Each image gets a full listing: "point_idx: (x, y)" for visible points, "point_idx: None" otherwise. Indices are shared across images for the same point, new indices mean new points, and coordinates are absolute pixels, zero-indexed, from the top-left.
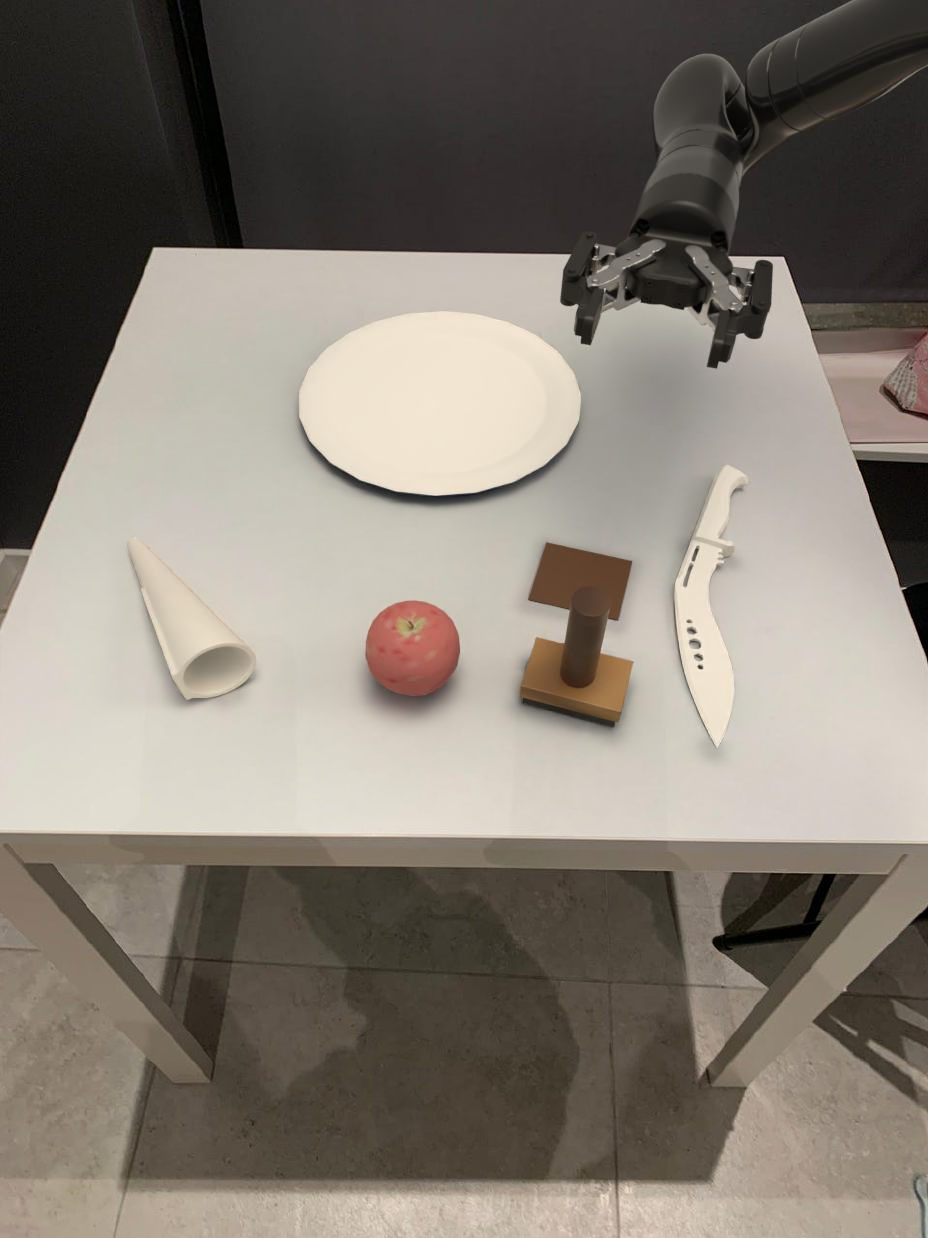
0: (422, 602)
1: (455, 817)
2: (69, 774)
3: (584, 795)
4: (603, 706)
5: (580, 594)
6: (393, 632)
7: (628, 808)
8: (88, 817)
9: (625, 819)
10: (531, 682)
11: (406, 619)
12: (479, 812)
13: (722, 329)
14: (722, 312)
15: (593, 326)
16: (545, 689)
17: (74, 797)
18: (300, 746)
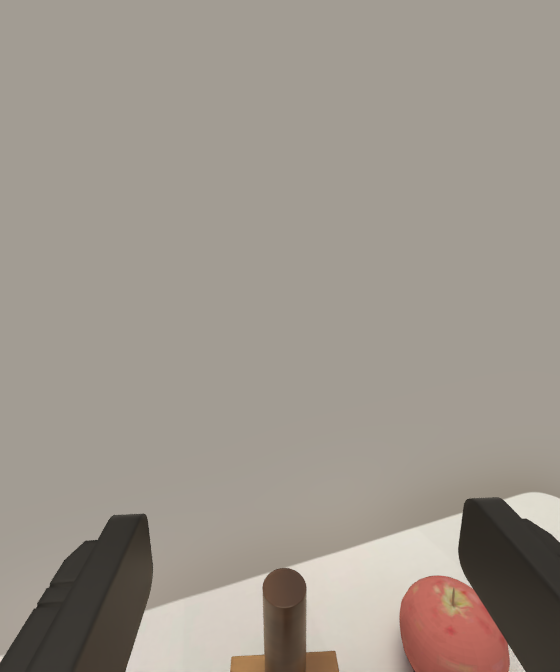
0: (475, 647)
1: (332, 560)
2: (553, 514)
3: (250, 605)
4: (249, 656)
5: (298, 590)
6: (460, 588)
7: (215, 607)
8: (513, 500)
9: (216, 597)
10: (327, 658)
11: (464, 607)
12: (319, 568)
13: (100, 560)
14: (61, 665)
15: (471, 527)
16: (310, 655)
17: (533, 506)
18: (463, 572)
